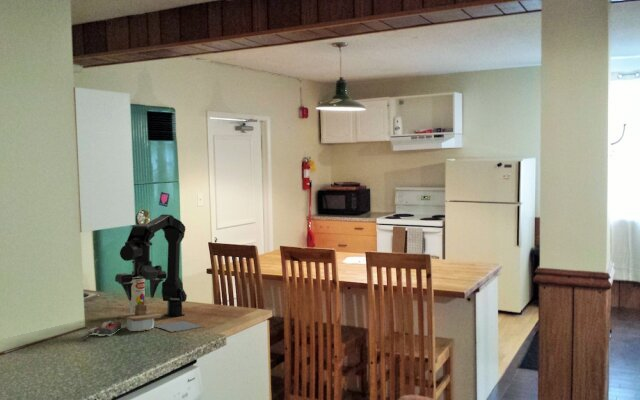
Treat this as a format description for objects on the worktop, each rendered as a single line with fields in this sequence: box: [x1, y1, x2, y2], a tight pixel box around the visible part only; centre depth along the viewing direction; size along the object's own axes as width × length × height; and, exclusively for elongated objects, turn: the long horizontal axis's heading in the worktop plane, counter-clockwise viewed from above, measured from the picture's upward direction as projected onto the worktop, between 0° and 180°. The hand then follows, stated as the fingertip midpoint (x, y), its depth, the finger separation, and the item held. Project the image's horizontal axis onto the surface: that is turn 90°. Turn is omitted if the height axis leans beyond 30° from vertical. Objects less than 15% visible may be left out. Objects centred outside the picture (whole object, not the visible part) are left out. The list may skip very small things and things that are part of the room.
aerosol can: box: [127, 273, 146, 313], centre depth 240 cm, size 7×7×20 cm
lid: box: [119, 304, 162, 322], centre depth 217 cm, size 11×11×4 cm
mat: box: [154, 320, 203, 332], centre depth 221 cm, size 13×13×1 cm
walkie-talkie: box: [80, 320, 122, 340], centre depth 207 cm, size 9×4×20 cm
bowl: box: [126, 318, 155, 330], centre depth 217 cm, size 10×10×4 cm
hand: (141, 298), depth 217 cm, fingers open, 9 cm apart
